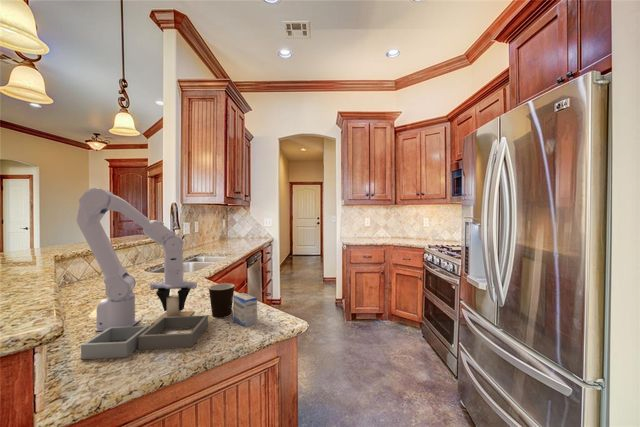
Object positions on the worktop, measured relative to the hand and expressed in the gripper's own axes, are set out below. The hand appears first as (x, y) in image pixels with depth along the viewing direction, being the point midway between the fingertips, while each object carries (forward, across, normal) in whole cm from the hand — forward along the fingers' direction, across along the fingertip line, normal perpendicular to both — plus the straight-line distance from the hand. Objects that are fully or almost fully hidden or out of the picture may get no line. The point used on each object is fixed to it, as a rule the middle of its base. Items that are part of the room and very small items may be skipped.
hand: (174, 309), depth 93 cm
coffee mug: (+3, +16, +3) cm, 17 cm away
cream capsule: (+2, 0, 0) cm, 2 cm away
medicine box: (+3, +25, -6) cm, 26 cm away
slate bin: (+3, -6, -20) cm, 21 cm away
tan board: (+3, 0, 0) cm, 3 cm away
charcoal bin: (+3, +7, -15) cm, 17 cm away
